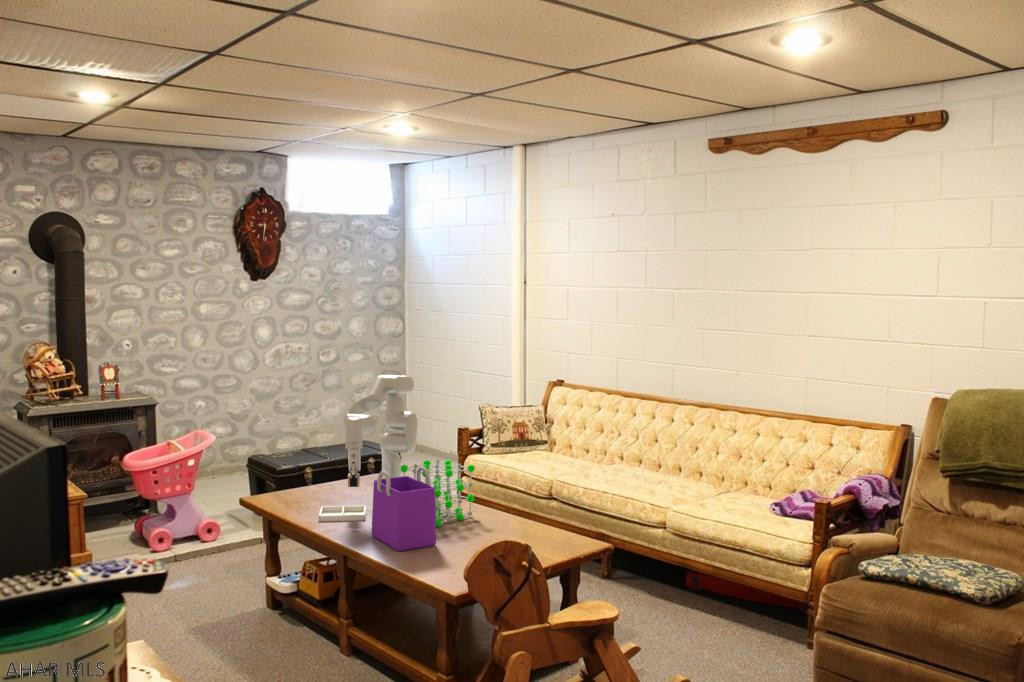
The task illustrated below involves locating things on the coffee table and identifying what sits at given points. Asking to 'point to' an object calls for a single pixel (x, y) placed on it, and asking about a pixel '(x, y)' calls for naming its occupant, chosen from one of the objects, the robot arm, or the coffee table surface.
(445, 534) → the coffee table surface
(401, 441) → the robot arm
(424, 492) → the shopping bag
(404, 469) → the molecular structure model
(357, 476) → the plain light orange cube
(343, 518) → the sorting box
